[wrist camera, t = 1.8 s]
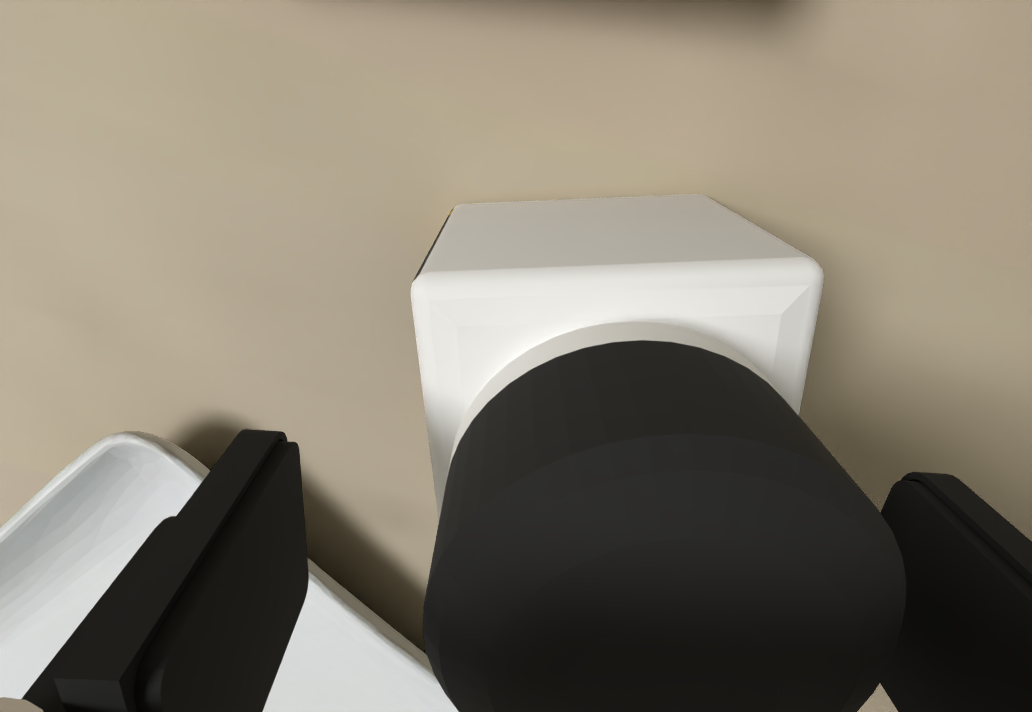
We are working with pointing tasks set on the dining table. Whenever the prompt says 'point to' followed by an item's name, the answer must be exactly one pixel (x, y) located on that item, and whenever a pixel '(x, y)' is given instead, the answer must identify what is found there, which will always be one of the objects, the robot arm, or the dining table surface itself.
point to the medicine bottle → (638, 469)
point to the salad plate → (116, 538)
